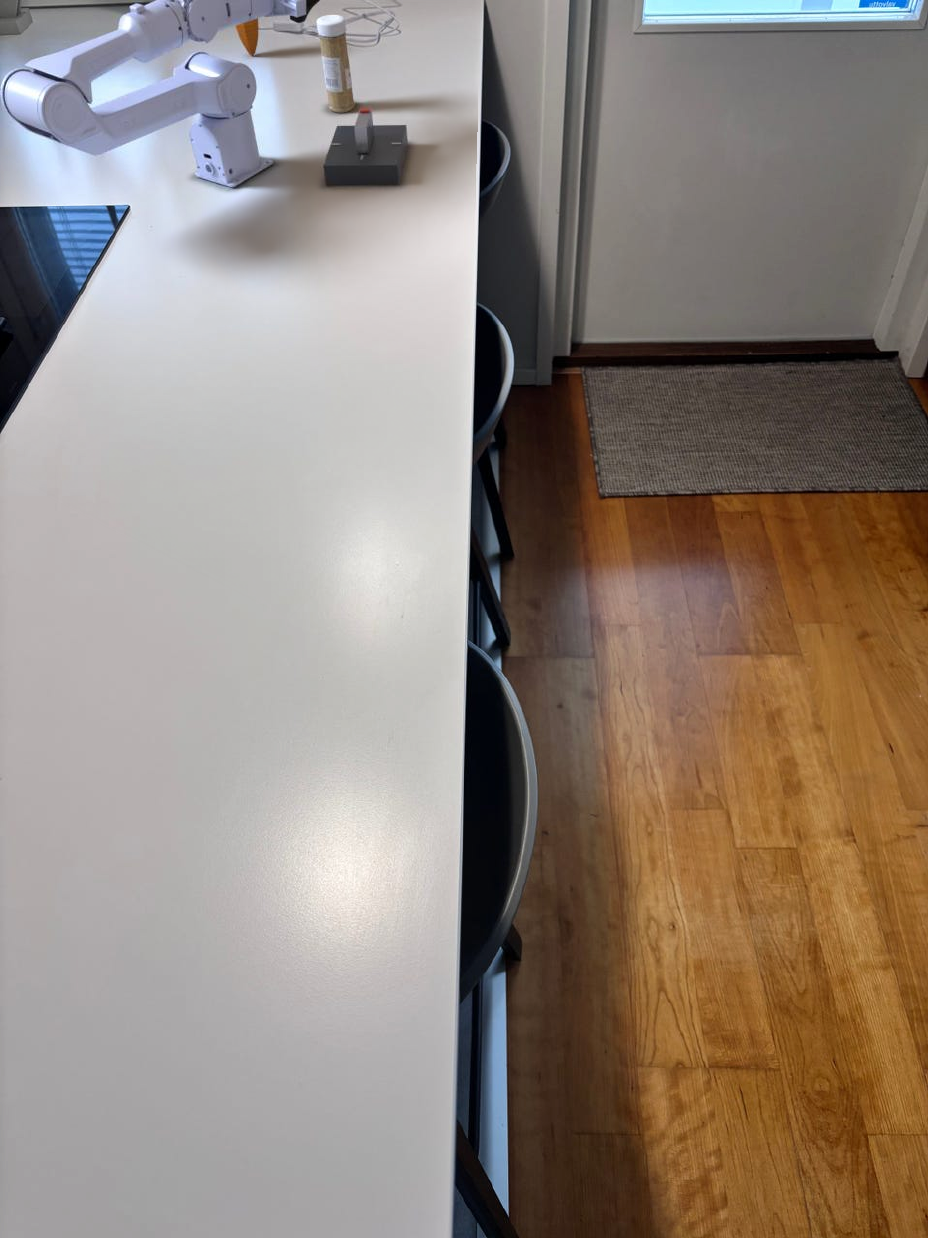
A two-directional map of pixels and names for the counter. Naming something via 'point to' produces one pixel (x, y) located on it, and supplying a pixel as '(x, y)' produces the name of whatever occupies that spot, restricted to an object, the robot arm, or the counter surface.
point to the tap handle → (364, 131)
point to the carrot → (249, 35)
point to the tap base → (366, 157)
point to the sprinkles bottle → (336, 62)
